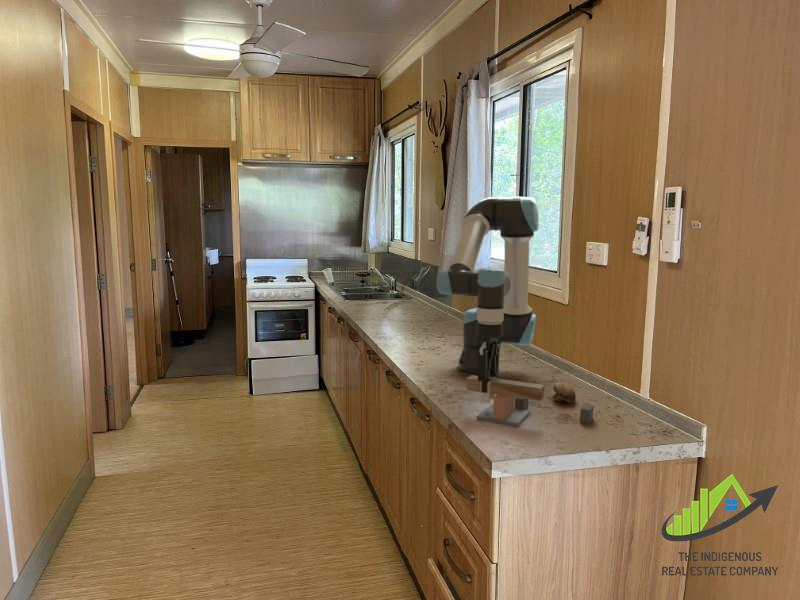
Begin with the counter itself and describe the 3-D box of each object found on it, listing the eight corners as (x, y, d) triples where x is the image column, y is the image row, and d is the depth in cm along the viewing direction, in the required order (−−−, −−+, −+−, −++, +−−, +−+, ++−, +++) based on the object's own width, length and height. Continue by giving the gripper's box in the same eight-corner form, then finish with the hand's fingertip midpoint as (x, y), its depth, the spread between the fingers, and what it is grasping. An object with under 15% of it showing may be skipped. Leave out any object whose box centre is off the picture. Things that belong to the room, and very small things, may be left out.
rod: (471, 386, 170) (471, 375, 169) (544, 397, 159) (544, 385, 159) (466, 390, 167) (466, 378, 166) (540, 401, 156) (541, 388, 156)
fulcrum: (491, 407, 172) (491, 385, 171) (530, 414, 166) (530, 391, 165) (476, 419, 162) (477, 396, 161) (517, 427, 156) (518, 402, 155)
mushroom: (542, 390, 179) (555, 375, 177) (554, 394, 184) (567, 380, 183) (559, 408, 173) (572, 393, 172) (570, 412, 179) (584, 397, 177)
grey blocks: (519, 406, 173) (520, 393, 173) (592, 418, 163) (593, 405, 162) (514, 410, 169) (515, 398, 169) (589, 423, 159) (590, 410, 158)
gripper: (487, 316, 171) (485, 391, 175) (466, 325, 157) (464, 406, 160) (511, 318, 168) (509, 394, 171) (492, 328, 153) (489, 411, 157)
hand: (487, 400), depth 166 cm, fingers closed on rod, 4 cm apart
